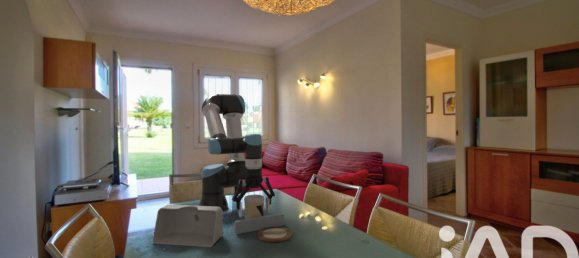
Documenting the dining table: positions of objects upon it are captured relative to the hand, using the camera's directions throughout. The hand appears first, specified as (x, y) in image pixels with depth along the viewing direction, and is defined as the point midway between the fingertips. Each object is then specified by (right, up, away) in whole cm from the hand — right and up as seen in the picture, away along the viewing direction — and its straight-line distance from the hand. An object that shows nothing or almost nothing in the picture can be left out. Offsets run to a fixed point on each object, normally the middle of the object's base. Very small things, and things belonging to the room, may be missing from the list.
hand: (254, 214), depth 127 cm
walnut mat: (+10, -4, -14) cm, 18 cm away
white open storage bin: (-23, -5, -14) cm, 28 cm away
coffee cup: (0, -4, 0) cm, 4 cm away
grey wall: (+3, -4, -7) cm, 9 cm away
